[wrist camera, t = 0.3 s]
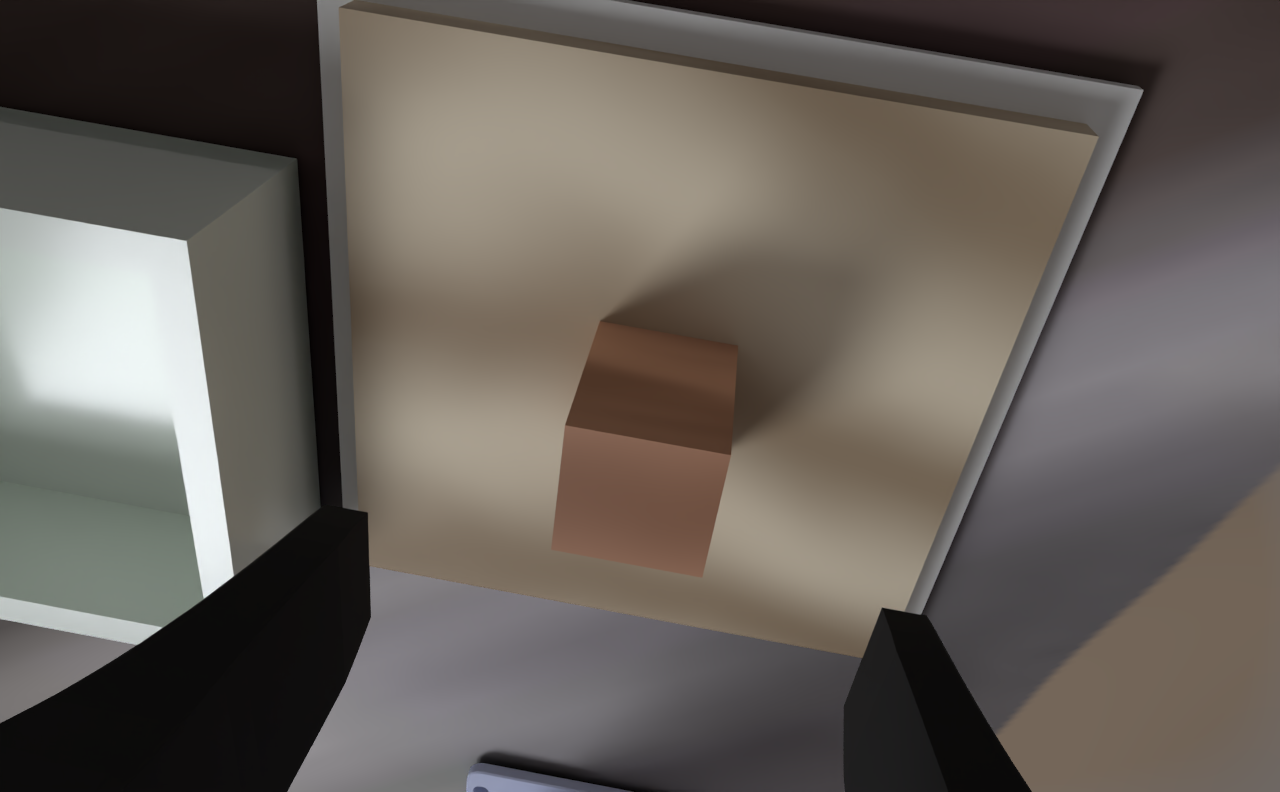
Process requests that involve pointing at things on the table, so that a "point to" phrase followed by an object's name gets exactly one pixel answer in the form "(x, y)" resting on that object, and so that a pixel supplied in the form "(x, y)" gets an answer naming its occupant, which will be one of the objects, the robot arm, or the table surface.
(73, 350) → the open box
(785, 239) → the lid
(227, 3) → the table surface
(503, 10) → the mat
